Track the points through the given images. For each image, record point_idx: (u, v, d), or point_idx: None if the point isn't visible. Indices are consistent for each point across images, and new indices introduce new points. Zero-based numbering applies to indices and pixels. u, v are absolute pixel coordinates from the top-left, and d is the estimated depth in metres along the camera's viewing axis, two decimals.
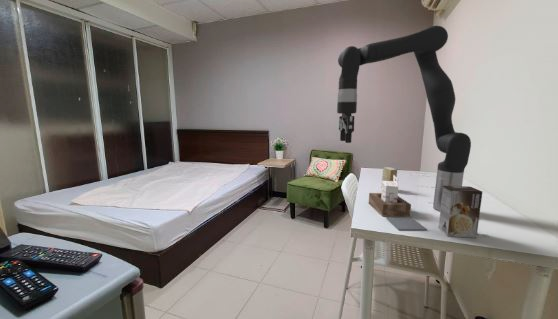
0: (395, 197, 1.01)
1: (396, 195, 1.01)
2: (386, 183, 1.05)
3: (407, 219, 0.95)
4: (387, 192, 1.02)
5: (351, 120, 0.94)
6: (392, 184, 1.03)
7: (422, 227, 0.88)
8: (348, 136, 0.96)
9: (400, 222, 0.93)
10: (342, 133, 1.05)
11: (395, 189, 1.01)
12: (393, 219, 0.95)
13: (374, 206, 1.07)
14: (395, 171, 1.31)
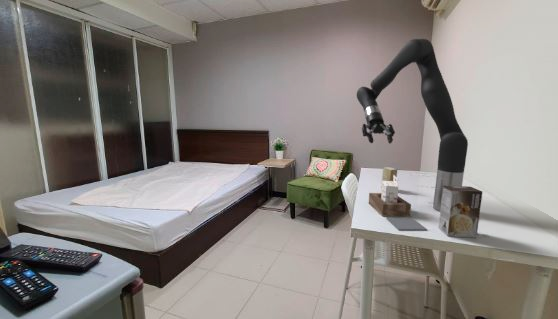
0: (395, 197, 1.01)
1: (396, 195, 1.01)
2: (386, 183, 1.05)
3: (407, 219, 0.95)
4: (387, 192, 1.02)
5: (363, 127, 1.18)
6: (392, 184, 1.03)
7: (422, 227, 0.88)
8: (368, 138, 1.15)
9: (400, 222, 0.93)
10: (387, 137, 1.16)
11: (395, 189, 1.01)
12: (393, 219, 0.95)
13: (374, 206, 1.07)
14: (395, 171, 1.31)
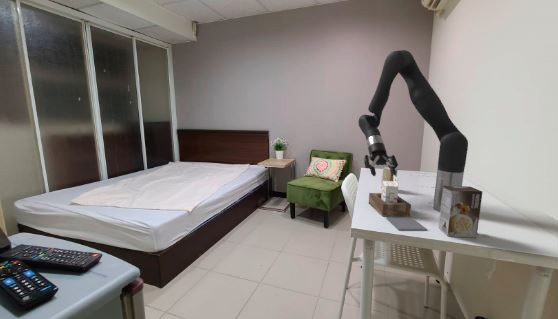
0: (395, 197, 1.01)
1: (396, 195, 1.01)
2: (386, 183, 1.05)
3: (407, 219, 0.95)
4: (387, 192, 1.02)
5: (365, 159, 1.15)
6: (392, 184, 1.03)
7: (422, 227, 0.88)
8: (371, 170, 1.12)
9: (400, 222, 0.93)
10: (390, 169, 1.13)
11: (395, 189, 1.01)
12: (393, 219, 0.95)
13: (374, 206, 1.07)
14: None
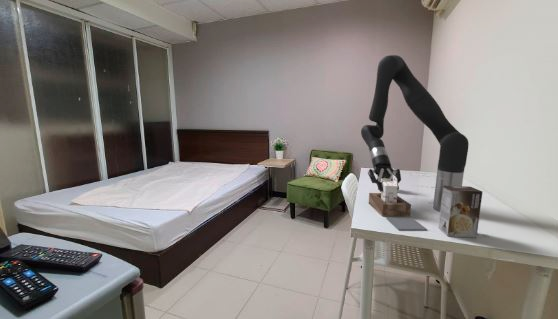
0: (395, 197, 1.01)
1: (396, 195, 1.01)
2: (385, 183, 1.05)
3: (407, 219, 0.95)
4: (386, 192, 1.02)
5: (369, 173, 1.10)
6: (391, 184, 1.03)
7: (422, 227, 0.88)
8: (377, 185, 1.07)
9: (400, 222, 0.93)
10: None
11: (394, 188, 1.01)
12: (393, 219, 0.95)
13: (374, 206, 1.07)
14: None
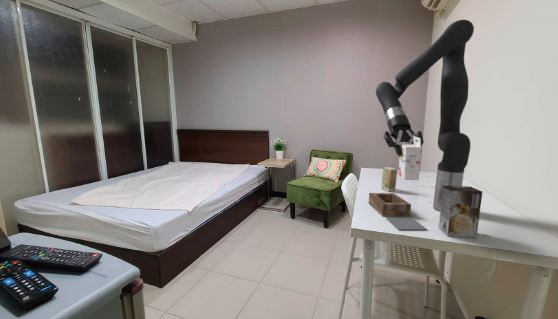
0: (417, 160, 0.85)
1: (418, 158, 0.84)
2: (405, 145, 0.88)
3: (407, 219, 0.95)
4: (407, 155, 0.85)
5: (385, 136, 0.94)
6: (413, 146, 0.86)
7: (422, 227, 0.88)
8: (396, 149, 0.91)
9: (400, 222, 0.93)
10: None
11: (417, 150, 0.84)
12: (393, 219, 0.95)
13: (374, 206, 1.07)
14: (395, 171, 1.31)
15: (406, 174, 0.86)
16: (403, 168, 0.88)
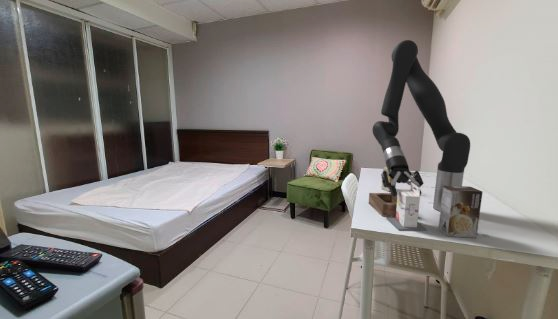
0: (416, 209, 0.87)
1: (417, 207, 0.87)
2: (404, 192, 0.90)
3: None
4: (407, 203, 0.87)
5: (383, 175, 0.96)
6: (412, 194, 0.89)
7: (422, 227, 0.88)
8: (390, 190, 0.93)
9: None
10: None
11: (416, 199, 0.86)
12: (393, 219, 0.95)
13: (374, 206, 1.07)
14: None
15: (405, 222, 0.88)
16: (402, 215, 0.90)
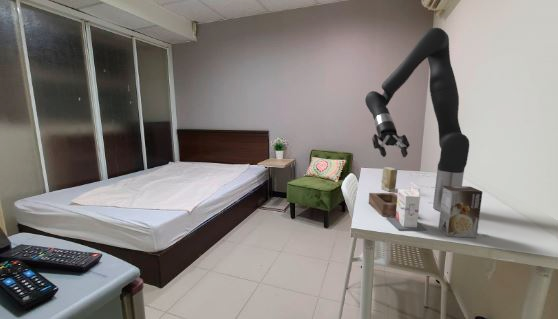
0: (416, 209, 0.87)
1: (417, 207, 0.87)
2: (404, 192, 0.90)
3: None
4: (407, 203, 0.87)
5: (373, 138, 1.05)
6: (412, 194, 0.89)
7: (422, 227, 0.88)
8: (380, 151, 1.02)
9: None
10: (401, 150, 1.03)
11: (416, 199, 0.86)
12: (393, 219, 0.95)
13: (374, 206, 1.07)
14: (395, 171, 1.31)
15: (405, 222, 0.88)
16: (402, 215, 0.90)
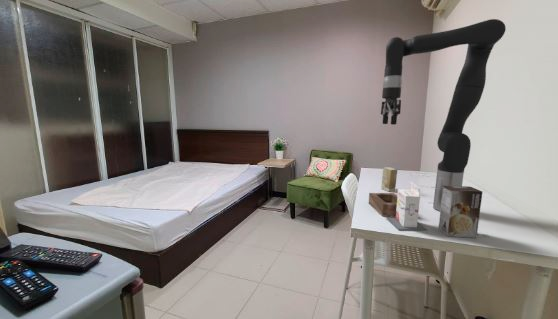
0: (416, 209, 0.87)
1: (417, 207, 0.87)
2: (404, 192, 0.90)
3: None
4: (407, 203, 0.87)
5: (398, 103, 1.04)
6: (412, 194, 0.89)
7: (422, 227, 0.88)
8: (394, 118, 1.07)
9: None
10: (385, 117, 1.16)
11: (416, 199, 0.86)
12: (393, 219, 0.95)
13: (374, 206, 1.07)
14: (395, 171, 1.31)
15: (405, 222, 0.88)
16: (402, 215, 0.90)
